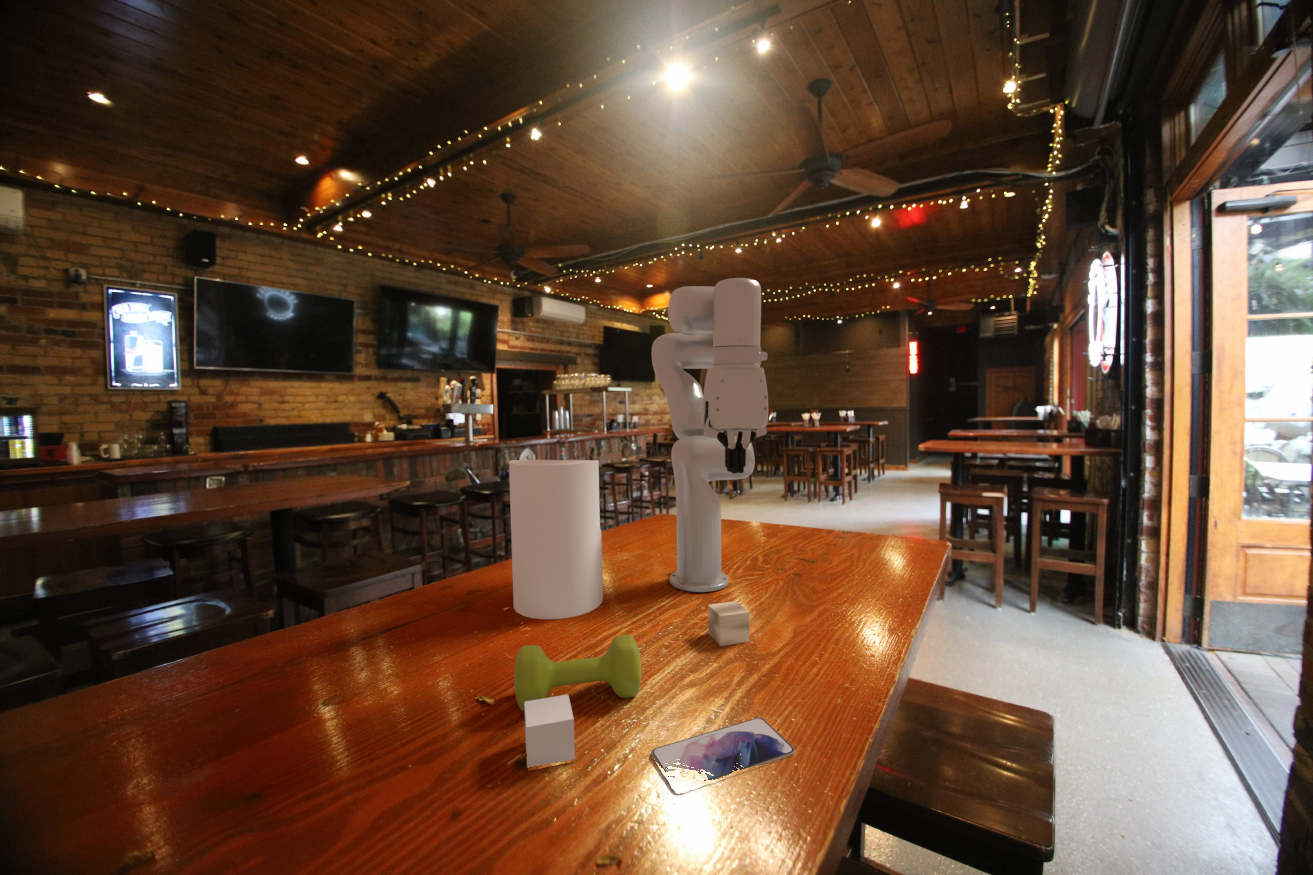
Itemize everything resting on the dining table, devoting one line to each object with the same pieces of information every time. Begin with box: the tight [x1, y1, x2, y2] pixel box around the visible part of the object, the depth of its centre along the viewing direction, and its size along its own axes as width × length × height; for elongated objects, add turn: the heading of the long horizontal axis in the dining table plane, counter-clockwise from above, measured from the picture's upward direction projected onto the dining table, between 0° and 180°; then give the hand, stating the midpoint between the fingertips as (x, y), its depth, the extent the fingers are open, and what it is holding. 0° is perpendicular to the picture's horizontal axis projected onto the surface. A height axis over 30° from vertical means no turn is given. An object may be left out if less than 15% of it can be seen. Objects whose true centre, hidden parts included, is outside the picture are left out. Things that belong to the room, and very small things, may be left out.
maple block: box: [707, 600, 750, 647], centre depth 87 cm, size 5×5×5 cm
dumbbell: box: [513, 634, 642, 713], centre depth 70 cm, size 16×8×7 cm, turn 102°
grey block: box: [524, 693, 576, 769], centre depth 59 cm, size 5×5×5 cm
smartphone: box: [650, 717, 796, 781], centre depth 58 cm, size 7×1×15 cm
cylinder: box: [508, 459, 604, 620], centre depth 103 cm, size 17×17×28 cm
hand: (735, 471), depth 86 cm, fingers closed
